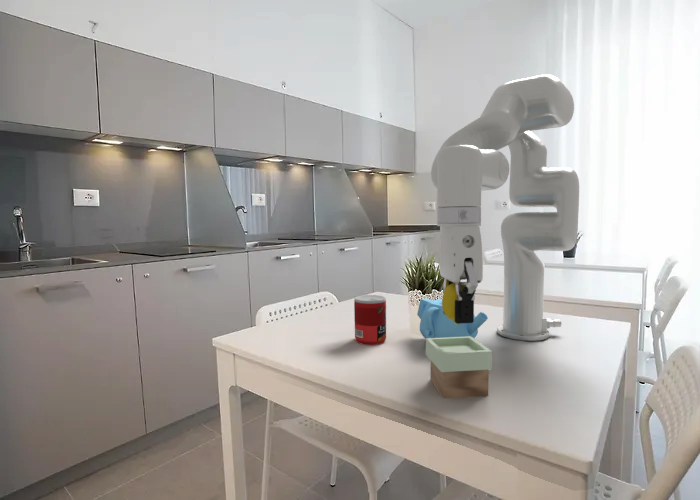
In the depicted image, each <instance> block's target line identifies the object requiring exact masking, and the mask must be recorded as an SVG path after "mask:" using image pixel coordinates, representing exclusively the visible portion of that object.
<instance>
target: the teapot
mask: <svg viewBox="0 0 700 500" xmlns="http://www.w3.org/2000/svg"><path fill="white" fill-rule="evenodd" d="M417 317H418V318H419V319H420V322H419V332H420V334H421V335H422V337H423V338H424V339H425V340H426V338H445V337H466V336H471V337H473V338H474V339H475V338H476V337H477V336H478V333H479V330H478V329H479V328H480V327H481V326H483V324H484V323H485V322H487V320H488V316H487V314H485V313H484V312H479V313H478V314H477V315H476V316H475V315H474V322H473V323H460V324H455V323H454V321H452V320H450V319H449V318H448V317H447V316H446V315H445V314H444V313H443V308H442V298H440V299H434V300H432V299H429V298H426V297H423V298H420V299H419V304H418V308H417Z"/></svg>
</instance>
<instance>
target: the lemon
mask: <svg viewBox="0 0 700 500" xmlns="http://www.w3.org/2000/svg"><path fill="white" fill-rule="evenodd" d="M464 287H466V286H461V292H462V290H463V288H464ZM441 299H442V308H443V311H444V313H445V315H446V316H447V317H448V318H449V319H450V320H452V321H454V323H455V324H457V323H456V322H455V300H457V295H456V285H455V283H452V284H450V285H449V286H448V287H447V288H446V289H445V291H444V292H443V293H442V298H441Z"/></svg>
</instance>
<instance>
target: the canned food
mask: <svg viewBox="0 0 700 500" xmlns="http://www.w3.org/2000/svg"><path fill="white" fill-rule="evenodd" d="M353 304H354V307H353V311H354V339H355V342H357V343H358V344H360V345H366V346H377V345H378V346H379V345H381V344H384V343H385V342H386V339H387V300H386V297H385V296H383V295H376V294H364V295H363V294H362V295H358V296H355V297H354V303H353Z"/></svg>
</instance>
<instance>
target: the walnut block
mask: <svg viewBox="0 0 700 500" xmlns="http://www.w3.org/2000/svg"><path fill="white" fill-rule="evenodd" d="M489 371H490V369H489V370H472V371H454V372H441V371H440V370H439V369H438V368H437V367H436V366H435V364H434V363H433V362H432V361H431V360H430V382H431V383H432V385H433V386H434V387H435V389H436V390H437V391H438V393H439V394H440V395H441V397H442V398H443V399H458V398H473V397H474V398H475V397H488V396H489V380H490V377H489V376H490V375H489V373H490V372H489Z"/></svg>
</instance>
